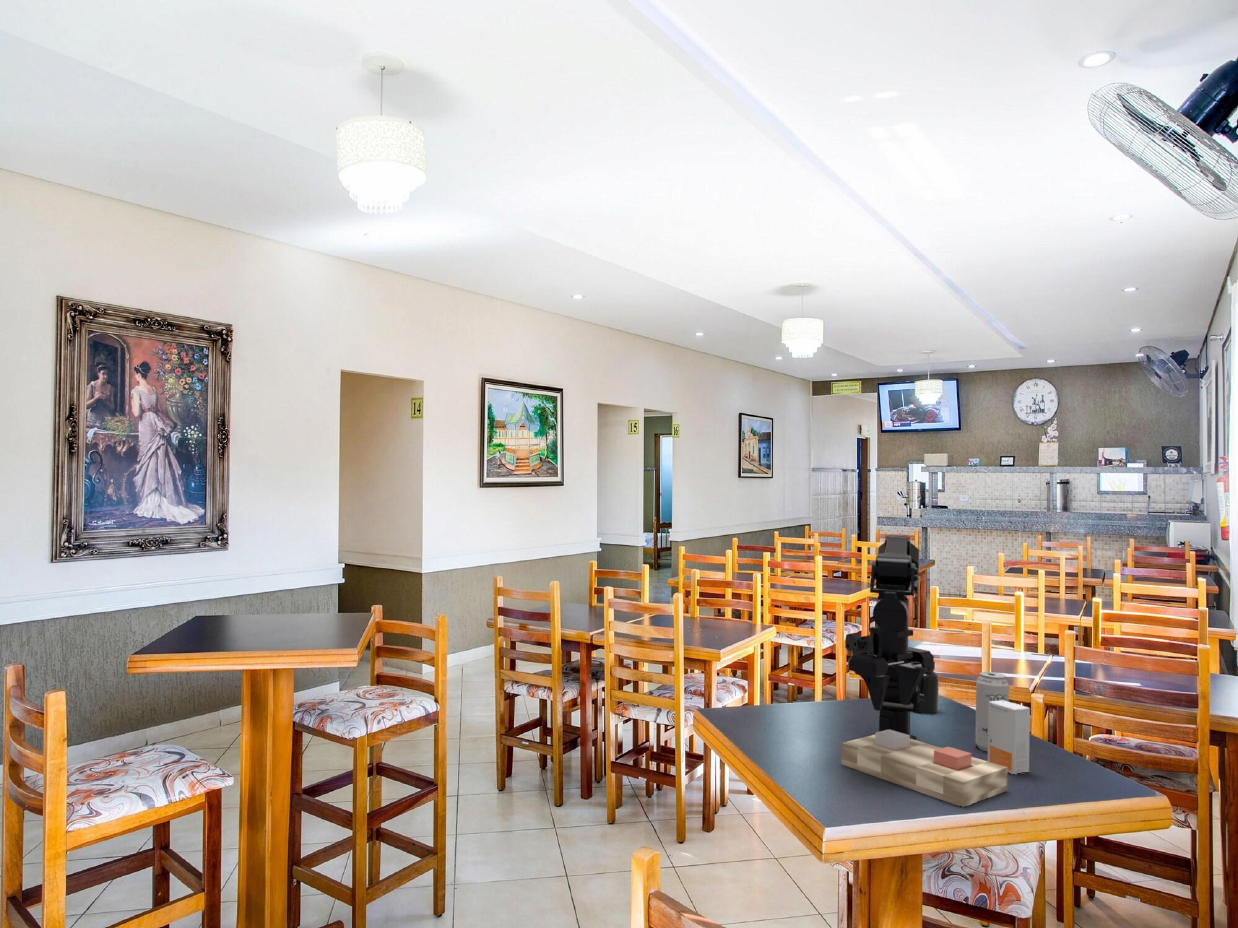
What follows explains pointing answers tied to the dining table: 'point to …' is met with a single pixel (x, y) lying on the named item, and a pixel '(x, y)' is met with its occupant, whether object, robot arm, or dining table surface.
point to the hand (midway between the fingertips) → (890, 707)
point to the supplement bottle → (929, 691)
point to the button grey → (892, 740)
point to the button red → (952, 758)
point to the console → (926, 771)
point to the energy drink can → (986, 691)
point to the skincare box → (1009, 735)
